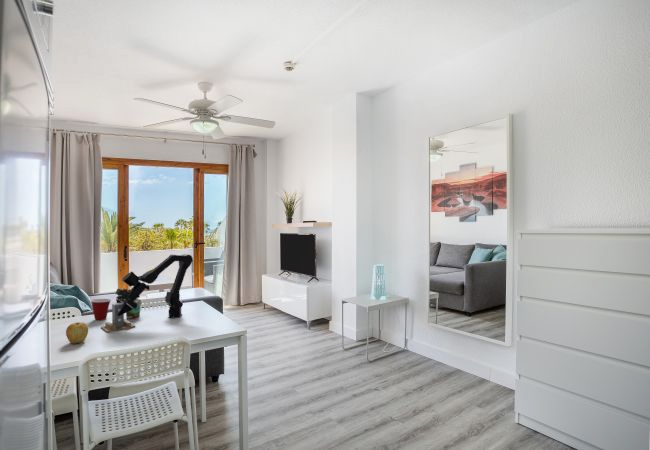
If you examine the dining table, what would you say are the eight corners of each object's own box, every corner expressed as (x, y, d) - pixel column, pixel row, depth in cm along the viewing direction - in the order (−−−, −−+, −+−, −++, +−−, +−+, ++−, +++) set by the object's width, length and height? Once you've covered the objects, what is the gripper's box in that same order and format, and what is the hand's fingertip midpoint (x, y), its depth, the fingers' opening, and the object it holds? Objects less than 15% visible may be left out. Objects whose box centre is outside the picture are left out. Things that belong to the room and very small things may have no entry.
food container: (135, 320, 223) (135, 303, 223) (125, 320, 223) (124, 303, 223) (145, 314, 235) (145, 299, 235) (136, 314, 235) (135, 299, 235)
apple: (84, 338, 189) (84, 318, 189) (91, 342, 183) (90, 321, 183) (63, 343, 182) (63, 322, 182) (69, 347, 176) (69, 326, 176)
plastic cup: (114, 318, 226) (114, 299, 226) (95, 322, 217) (95, 302, 217) (106, 316, 232) (106, 296, 232) (87, 319, 224) (87, 299, 224)
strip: (121, 324, 210) (120, 302, 210) (123, 326, 207) (123, 303, 207) (112, 326, 207) (112, 303, 207) (115, 328, 204) (114, 304, 204)
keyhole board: (127, 323, 216) (127, 318, 216) (135, 327, 208) (135, 321, 208) (100, 328, 206) (100, 322, 206) (107, 332, 198) (107, 327, 198)
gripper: (119, 281, 216) (98, 303, 208) (131, 285, 203) (108, 308, 195) (134, 292, 222) (114, 314, 214) (146, 297, 209) (125, 320, 201)
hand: (115, 314), depth 206 cm, fingers open, 9 cm apart
